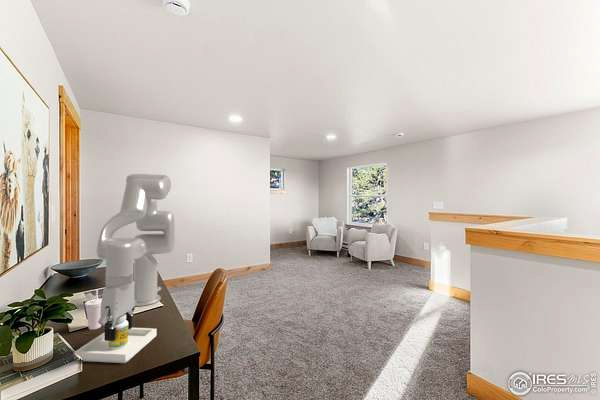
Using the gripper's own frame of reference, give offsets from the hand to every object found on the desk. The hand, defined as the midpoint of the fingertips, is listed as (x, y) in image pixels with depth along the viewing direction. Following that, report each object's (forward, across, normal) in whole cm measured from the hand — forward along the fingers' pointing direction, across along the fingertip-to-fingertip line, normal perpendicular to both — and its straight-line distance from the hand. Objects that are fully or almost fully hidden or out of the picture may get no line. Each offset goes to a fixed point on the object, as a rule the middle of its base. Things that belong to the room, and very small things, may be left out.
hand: (118, 333), depth 89 cm
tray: (+4, 0, 0) cm, 4 cm away
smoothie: (+5, -12, -18) cm, 22 cm away
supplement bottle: (+4, 0, 0) cm, 4 cm away
